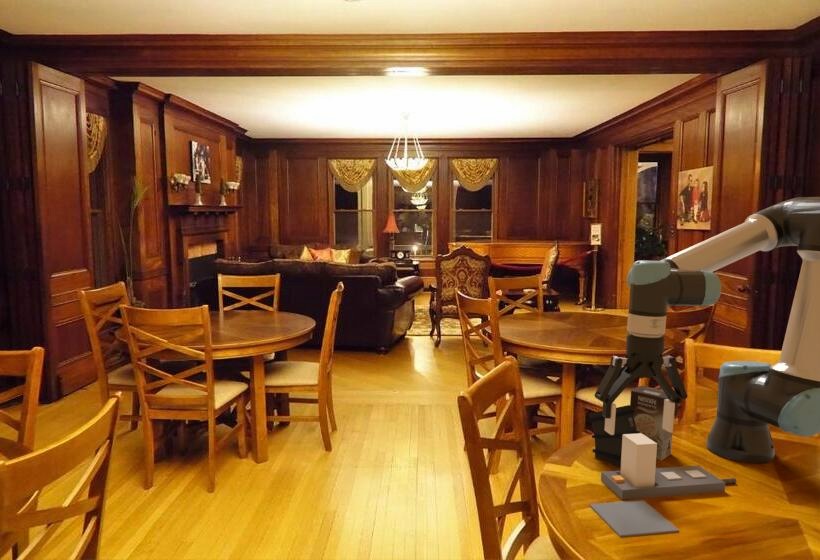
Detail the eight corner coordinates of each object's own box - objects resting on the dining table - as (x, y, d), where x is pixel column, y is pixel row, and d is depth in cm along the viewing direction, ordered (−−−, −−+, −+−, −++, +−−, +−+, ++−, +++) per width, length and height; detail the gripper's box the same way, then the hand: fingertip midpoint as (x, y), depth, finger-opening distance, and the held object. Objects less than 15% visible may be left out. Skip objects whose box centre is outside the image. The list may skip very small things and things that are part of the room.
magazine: (642, 473, 136) (621, 406, 140) (599, 477, 147) (581, 415, 151) (653, 469, 138) (632, 404, 142) (609, 474, 149) (591, 413, 153)
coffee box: (625, 451, 153) (628, 389, 151) (636, 445, 157) (640, 384, 155) (661, 462, 146) (666, 398, 144) (672, 455, 151) (676, 392, 149)
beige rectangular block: (638, 481, 135) (641, 433, 134) (653, 493, 129) (657, 443, 128) (619, 482, 134) (622, 434, 133) (634, 494, 128) (637, 444, 127)
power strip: (721, 474, 140) (722, 461, 140) (749, 491, 131) (750, 478, 131) (600, 482, 135) (601, 469, 135) (621, 501, 126) (622, 487, 126)
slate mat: (643, 503, 125) (643, 500, 125) (678, 534, 114) (679, 530, 114) (589, 507, 123) (589, 504, 123) (619, 539, 111) (620, 535, 111)
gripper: (599, 338, 122) (592, 440, 124) (710, 337, 126) (702, 435, 129) (582, 330, 129) (576, 427, 131) (688, 330, 134) (680, 423, 136)
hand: (638, 431), depth 130 cm, fingers open, 13 cm apart
